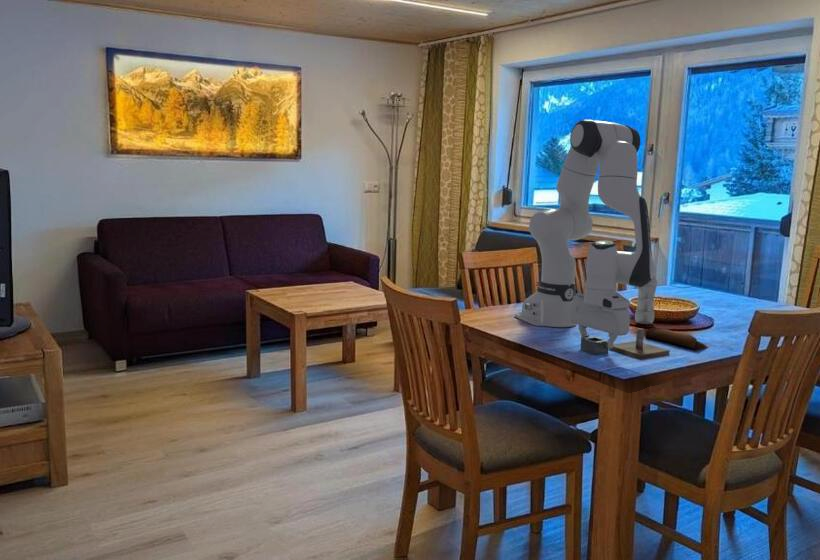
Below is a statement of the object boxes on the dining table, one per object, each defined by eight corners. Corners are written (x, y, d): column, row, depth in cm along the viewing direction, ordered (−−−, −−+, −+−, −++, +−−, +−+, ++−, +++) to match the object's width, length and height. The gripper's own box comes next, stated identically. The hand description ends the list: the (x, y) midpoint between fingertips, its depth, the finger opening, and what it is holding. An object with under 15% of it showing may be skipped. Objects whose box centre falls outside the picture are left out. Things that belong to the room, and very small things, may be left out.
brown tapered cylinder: (711, 347, 218) (707, 330, 215) (699, 361, 215) (694, 344, 212) (660, 335, 232) (655, 318, 229) (648, 348, 229) (643, 332, 226)
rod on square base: (608, 349, 213) (610, 326, 211) (636, 344, 219) (638, 322, 218) (640, 359, 202) (642, 335, 201) (669, 354, 209) (671, 331, 208)
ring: (580, 350, 210) (581, 338, 210) (594, 348, 213) (595, 336, 213) (594, 354, 206) (595, 342, 205) (608, 352, 209) (609, 340, 208)
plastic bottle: (632, 324, 246) (637, 267, 243) (636, 321, 252) (640, 264, 249) (651, 327, 243) (657, 268, 240) (655, 323, 249) (660, 266, 246)
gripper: (566, 292, 214) (563, 337, 216) (619, 304, 197) (615, 353, 199) (581, 290, 217) (578, 335, 219) (634, 302, 200) (631, 350, 202)
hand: (596, 344), depth 209 cm, fingers open, 8 cm apart
